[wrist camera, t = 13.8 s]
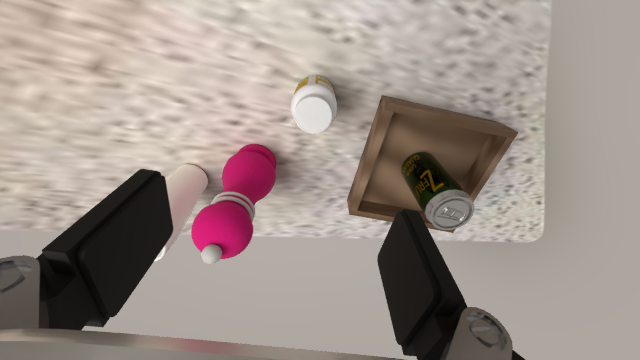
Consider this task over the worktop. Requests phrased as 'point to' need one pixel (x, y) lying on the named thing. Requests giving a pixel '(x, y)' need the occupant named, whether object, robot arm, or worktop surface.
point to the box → (422, 136)
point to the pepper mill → (234, 204)
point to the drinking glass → (183, 197)
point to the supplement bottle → (314, 104)
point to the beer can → (437, 191)
